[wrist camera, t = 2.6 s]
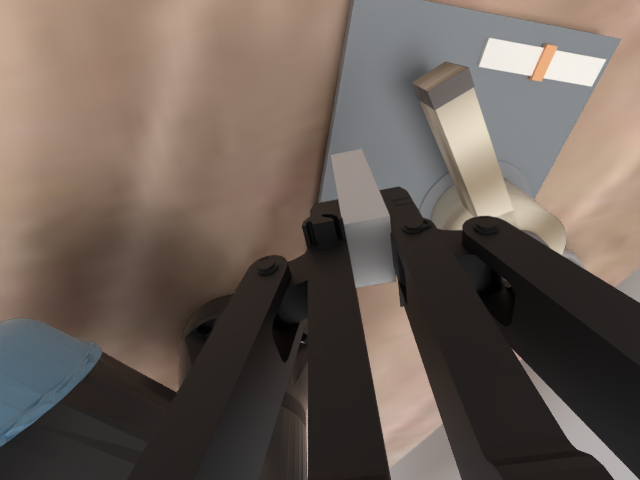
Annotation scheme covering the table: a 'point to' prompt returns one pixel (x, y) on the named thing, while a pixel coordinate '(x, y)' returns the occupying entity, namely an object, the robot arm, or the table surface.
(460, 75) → the lever
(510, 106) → the grey base plate
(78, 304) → the table surface
